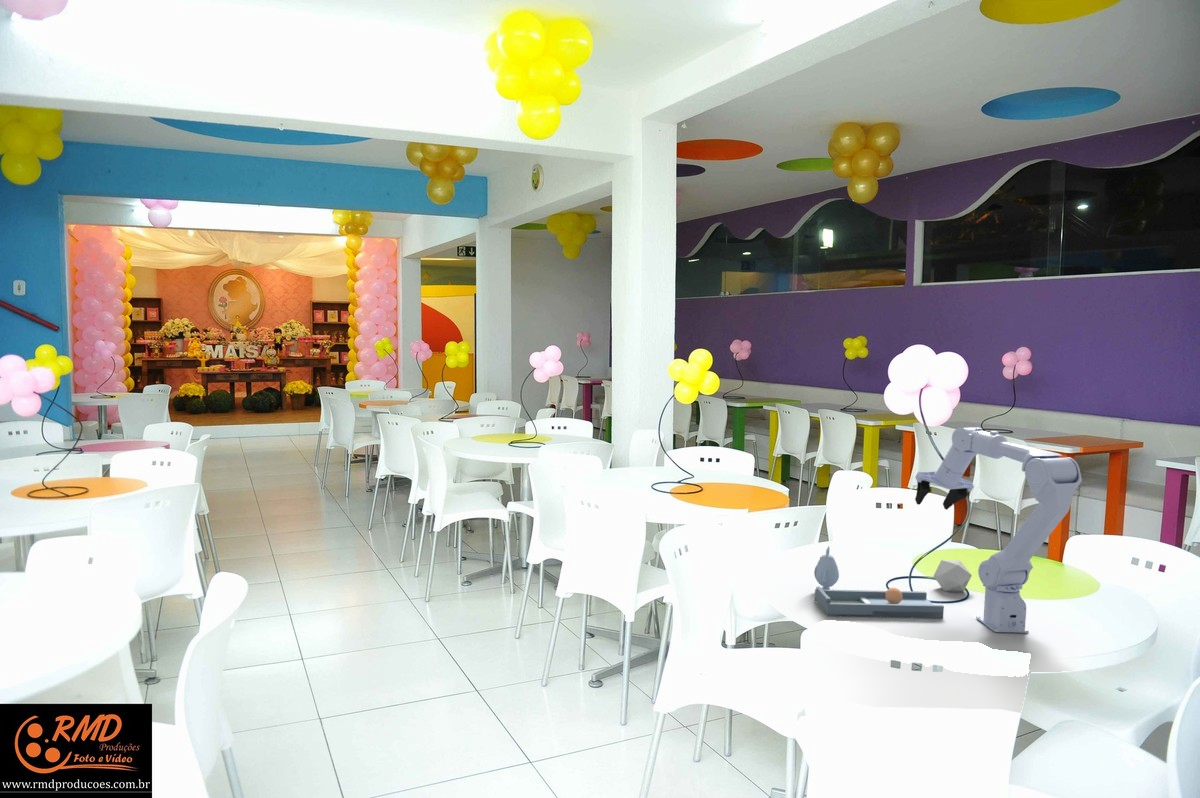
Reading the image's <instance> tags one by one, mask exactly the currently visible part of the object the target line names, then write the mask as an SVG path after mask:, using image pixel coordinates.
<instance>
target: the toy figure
mask: <svg viewBox="0 0 1200 798" xmlns="http://www.w3.org/2000/svg"><path fill="white" fill-rule="evenodd" d="M813 574H814V578H815V580H816V581H817V583H818V584H819V586H820V587H821V586H822V587H821V588H822V589H823V590H831V589H830V588H831V587H833V586H834V585H835V584H836V583H837V582H838V581H839V577H840V573H839V567H838V564H837V562H836V559H835V557H834V556H833V555H831V554H830V546H829V545H828V546H827V548H826V551H825V554H823V555H821V556H820V557H819V560H818V562H817V564H816V566H815V567H814V573H813Z"/></svg>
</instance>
